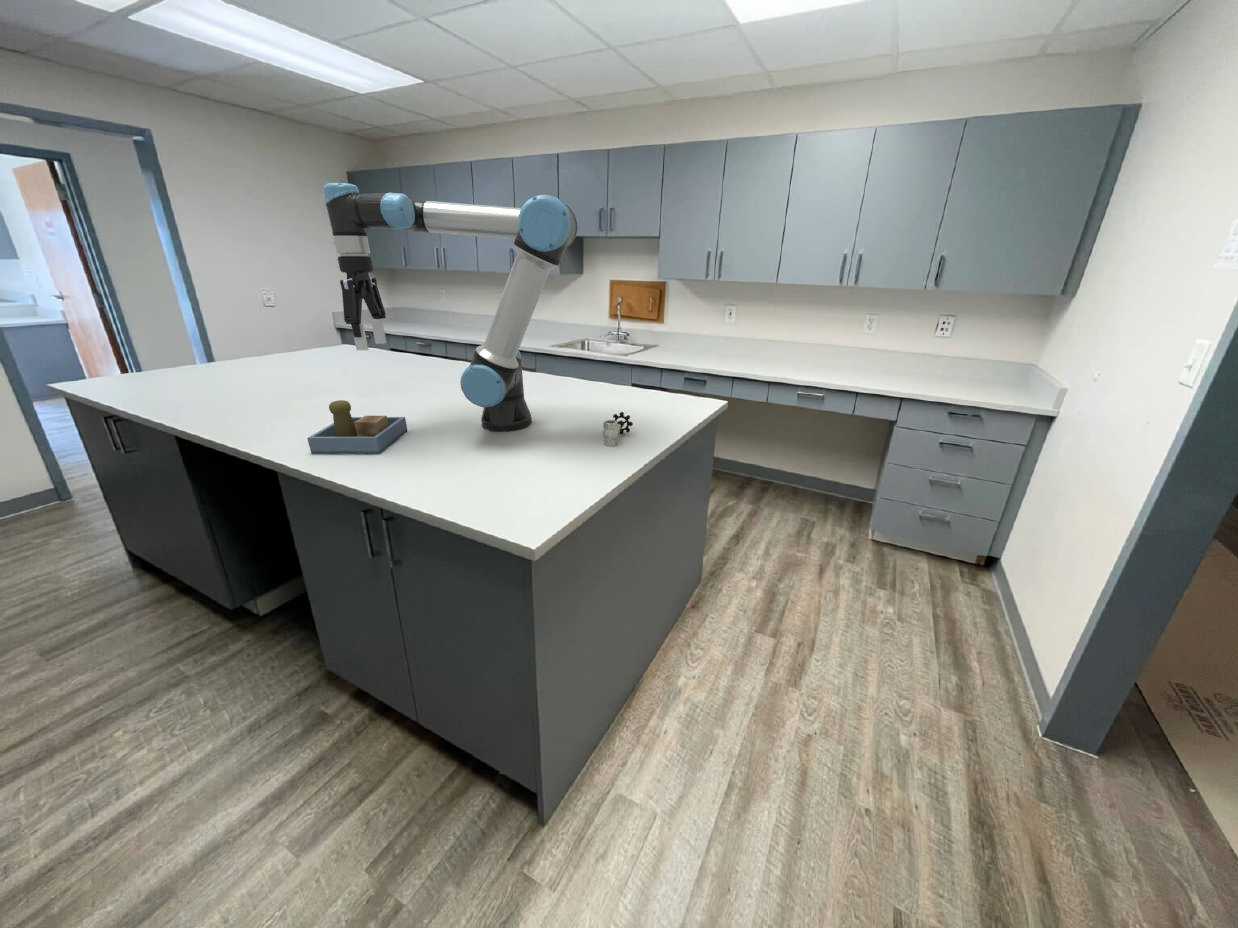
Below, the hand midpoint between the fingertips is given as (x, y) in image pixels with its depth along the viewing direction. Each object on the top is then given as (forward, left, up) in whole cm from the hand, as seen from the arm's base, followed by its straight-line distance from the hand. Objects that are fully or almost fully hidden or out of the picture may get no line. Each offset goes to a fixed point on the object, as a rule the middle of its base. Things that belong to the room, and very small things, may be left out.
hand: (372, 346), depth 129 cm
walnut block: (+2, +4, -25) cm, 25 cm away
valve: (-65, +2, -26) cm, 70 cm away
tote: (+6, +4, -26) cm, 27 cm away
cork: (+10, +4, -25) cm, 27 cm away
